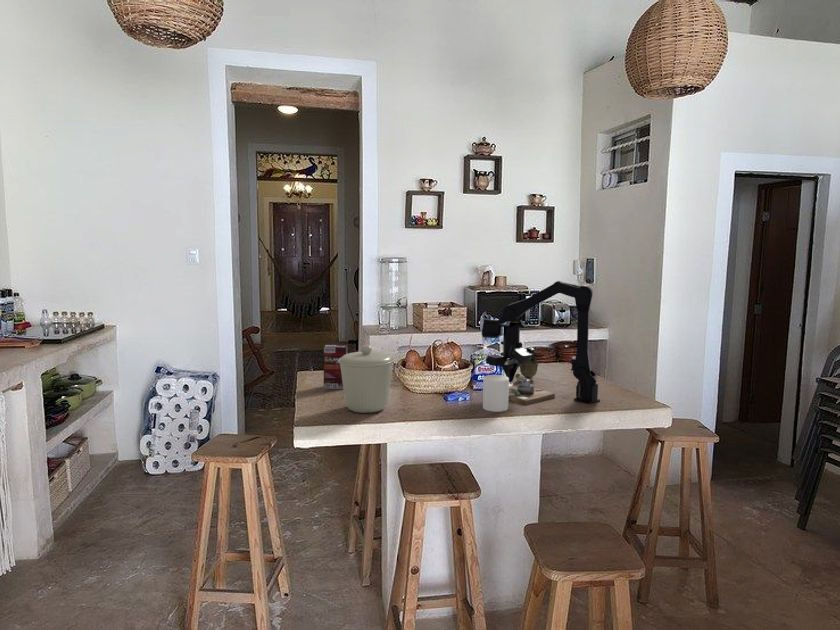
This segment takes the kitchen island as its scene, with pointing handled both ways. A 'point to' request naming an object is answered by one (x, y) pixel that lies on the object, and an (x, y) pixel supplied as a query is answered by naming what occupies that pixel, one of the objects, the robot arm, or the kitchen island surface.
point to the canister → (366, 379)
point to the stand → (529, 396)
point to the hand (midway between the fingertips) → (510, 381)
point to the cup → (529, 369)
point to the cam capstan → (524, 385)
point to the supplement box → (333, 366)
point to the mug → (495, 393)
